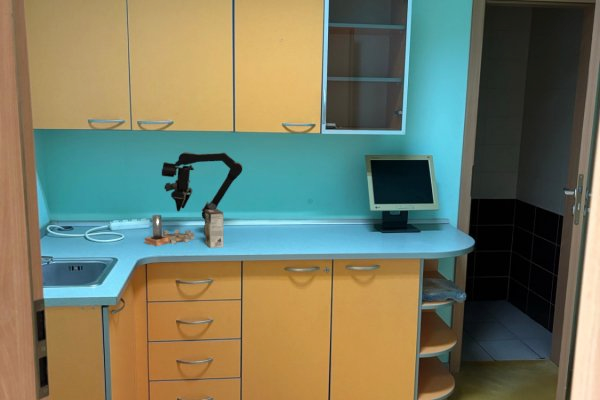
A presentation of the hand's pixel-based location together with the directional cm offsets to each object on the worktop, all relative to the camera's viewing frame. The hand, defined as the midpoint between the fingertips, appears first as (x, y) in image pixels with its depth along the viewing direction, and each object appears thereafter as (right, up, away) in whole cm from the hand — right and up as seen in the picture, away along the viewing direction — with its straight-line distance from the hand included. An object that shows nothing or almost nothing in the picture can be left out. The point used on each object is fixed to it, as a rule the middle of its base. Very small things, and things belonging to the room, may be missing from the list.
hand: (180, 209), depth 287 cm
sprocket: (-3, -14, -10) cm, 18 cm away
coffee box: (+19, -16, -20) cm, 32 cm away
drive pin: (-7, -15, -16) cm, 23 cm away
